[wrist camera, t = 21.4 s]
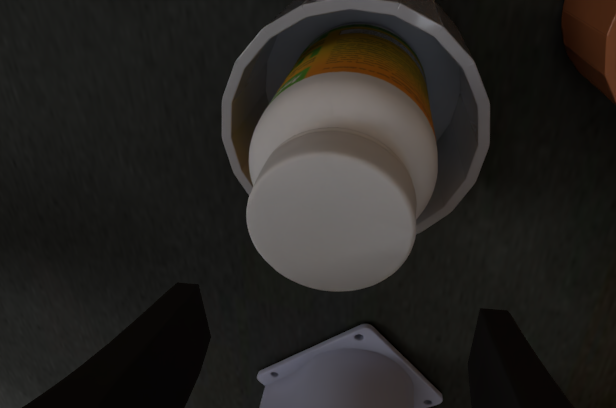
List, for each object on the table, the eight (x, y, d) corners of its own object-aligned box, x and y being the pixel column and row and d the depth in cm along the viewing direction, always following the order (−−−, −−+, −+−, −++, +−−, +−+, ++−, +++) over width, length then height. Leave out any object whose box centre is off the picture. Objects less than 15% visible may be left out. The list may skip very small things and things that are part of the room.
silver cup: (469, 167, 20) (489, 238, 16) (285, 184, 22) (258, 252, 18) (463, -185, 14) (493, -227, 9) (207, -113, 16) (136, -122, 11)
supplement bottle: (316, -2, 17) (242, 80, 9) (450, 49, 17) (499, 176, 9) (278, 124, 20) (197, 271, 12) (392, 166, 20) (389, 339, 12)
